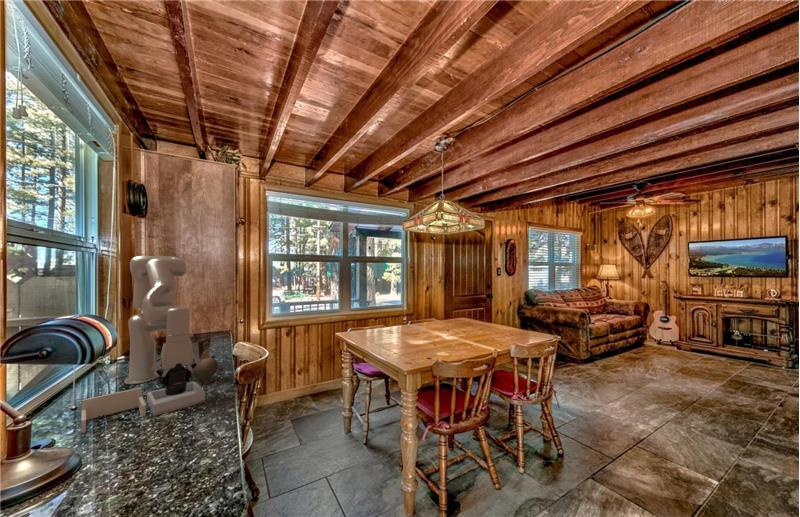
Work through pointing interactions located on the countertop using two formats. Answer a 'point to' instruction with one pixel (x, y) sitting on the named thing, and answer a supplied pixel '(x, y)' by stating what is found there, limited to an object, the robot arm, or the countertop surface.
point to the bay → (111, 405)
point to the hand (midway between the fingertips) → (176, 383)
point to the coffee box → (201, 348)
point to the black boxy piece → (176, 380)
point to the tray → (175, 399)
